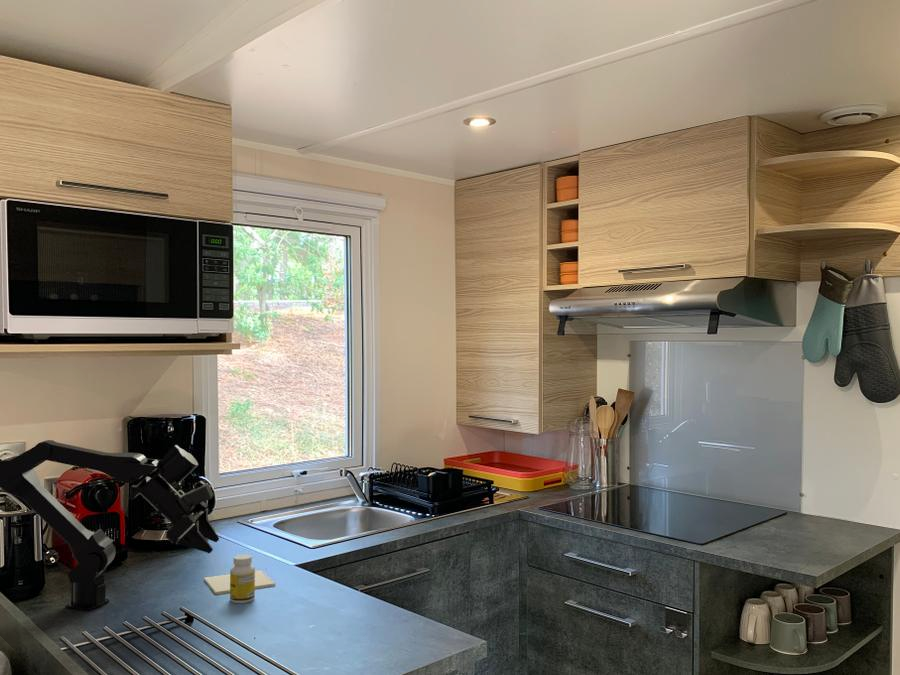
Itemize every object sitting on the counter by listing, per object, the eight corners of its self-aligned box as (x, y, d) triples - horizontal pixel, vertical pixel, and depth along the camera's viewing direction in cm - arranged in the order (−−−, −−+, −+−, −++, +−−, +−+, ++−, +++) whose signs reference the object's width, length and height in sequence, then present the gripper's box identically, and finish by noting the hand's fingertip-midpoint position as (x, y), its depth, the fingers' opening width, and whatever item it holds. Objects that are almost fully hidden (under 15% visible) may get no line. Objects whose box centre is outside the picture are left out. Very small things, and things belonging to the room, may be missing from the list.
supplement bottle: (228, 597, 174) (229, 554, 174) (253, 594, 176) (253, 552, 176) (230, 605, 169) (231, 560, 169) (255, 602, 171) (256, 558, 171)
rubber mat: (215, 594, 175) (215, 592, 175) (204, 580, 186) (204, 577, 186) (275, 585, 182) (275, 583, 182) (260, 572, 193) (260, 569, 193)
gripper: (182, 479, 162) (235, 530, 163) (198, 465, 180) (245, 511, 182) (143, 517, 160) (197, 568, 162) (163, 499, 179) (211, 545, 180)
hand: (214, 546), depth 171 cm, fingers open, 9 cm apart
